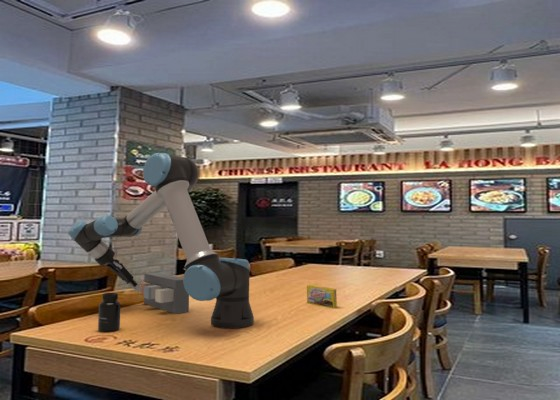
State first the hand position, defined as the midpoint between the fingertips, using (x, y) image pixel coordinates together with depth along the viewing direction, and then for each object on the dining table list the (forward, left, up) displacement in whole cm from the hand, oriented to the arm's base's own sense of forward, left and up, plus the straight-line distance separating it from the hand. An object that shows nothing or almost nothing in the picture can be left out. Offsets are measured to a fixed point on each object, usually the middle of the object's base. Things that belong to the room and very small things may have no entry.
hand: (139, 290), depth 194 cm
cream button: (-16, -16, -2) cm, 22 cm away
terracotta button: (+3, -4, -2) cm, 6 cm away
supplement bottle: (-43, -3, -7) cm, 44 cm away
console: (-4, -12, -6) cm, 14 cm away
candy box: (+2, -78, -7) cm, 78 cm away
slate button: (-7, -9, -2) cm, 11 cm away
